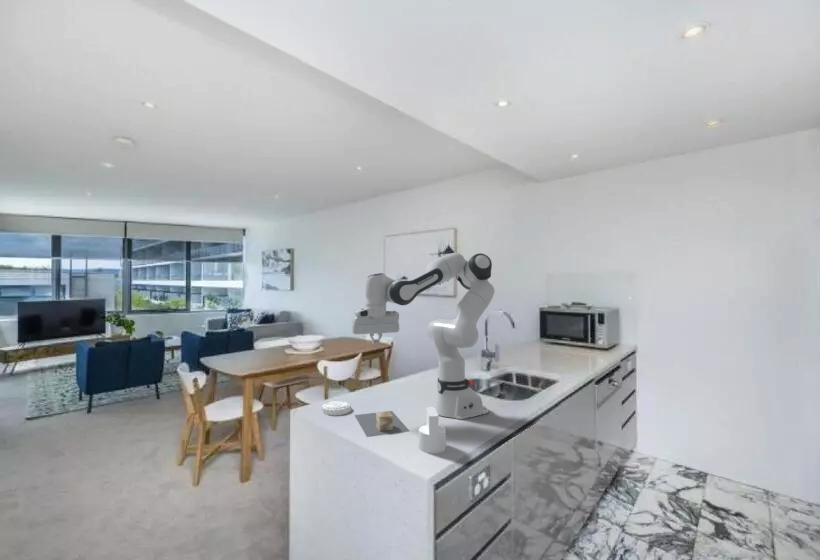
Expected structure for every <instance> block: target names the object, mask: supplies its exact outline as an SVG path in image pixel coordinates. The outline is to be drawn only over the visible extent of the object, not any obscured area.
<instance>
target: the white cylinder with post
mask: <svg viewBox="0 0 820 560" xmlns="http://www.w3.org/2000/svg"><path fill="white" fill-rule="evenodd" d="M425 408H426V410H425V413H426V414H425V415H426V416H425V420H426V421H425V424H424V425H421V426H420V427H419V428H418V449H419V450H420V451H421V452H422V453H427V454H433V455H435V454H440V453H442V452H444V451H446V448H447V447H446V446H447V445H446V444H447V443H446V440H447V439H446V436H447V435H446V433H447V431H446V428H445V426H442V425H440V424H439V418H440V417H439V416H440V415H438V413H437V411H436V409H435V408H436V406H435V407H434V406H427V407H425ZM434 453H435V454H434Z"/></svg>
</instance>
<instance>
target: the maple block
mask: <svg viewBox="0 0 820 560" xmlns="http://www.w3.org/2000/svg"><path fill="white" fill-rule="evenodd" d="M379 412H380V413H377V412H375V413H376V427H377V428H378V430H379V431H384V430H392V429H393V416H392V415H391V413H390V412H386V411H379Z"/></svg>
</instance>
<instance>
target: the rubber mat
mask: <svg viewBox="0 0 820 560" xmlns="http://www.w3.org/2000/svg"><path fill="white" fill-rule="evenodd" d="M380 412H381V411H379V412H370V413H362V414H354V417H355V419H356V420H357V422H358V424H359V426H360V427H361V429H362V430H363V433H364V435H365V437H367V438H368V437H369V438H370V437H377V436H383V435H391V434H399V433H406V432H410V429H408V427H407V426H406V425H405V424H404V423H403V422H402V421H401V419H400V418H399V417H398V416H397V414H395V412H393V410H387V411H385V412H390V413H391V415H392V416H393V429H392V430H384V431H379V430H378V428H377V427H376V413H380Z"/></svg>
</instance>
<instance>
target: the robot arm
mask: <svg viewBox="0 0 820 560" xmlns="http://www.w3.org/2000/svg"><path fill="white" fill-rule="evenodd" d="M492 265H493V264H492V259H491V258H490V257H489V256H488V255H487V254H484V253H476V254H474V255H472V256H471V257H469V260H467V259H465V257H464V255H462V254H461V253H459V252H452V253H449V254H448V253H447V254H445V255H443V256H440V257H437V258H436V259H434V260H432V261H431V262H429V263H427V265H426V267H425V273H423V274H421V275H419V276H417V277H415V278H414V279H411V280H400V281H399V280H395V279H392V278H390V277H389V276H387V275H386V274H385V273H383V272H380V273H379V272H378V273H374V274H370V275H368V276H367V277H366V281H365V298H366V300H365V307H363V308H360V309H357V310H355V311H354V317H353V318H352V323H351V332H352V333H353V335H369V337H370V339H371V343H372V345H380V343H381V342H380V341H381V339H382V337H383V334H389V333H390V334H391V333H398V332H399V331H400V322H399V321H400V320H399V319H400V314H399V312H398V311H396V310H387V303H393V304H396V305H399V306H407V305H409V304H411V303H412V302H413V301H414V300H415V298H416V297H418V295H420V294H421V293H422V292H424V291H427V290H429V289H430V288H432V287H433V286H435V285H440V284H443V283H445V282H447V281H449V280H451V279H452V278H455V277H456V278H455V279H456V280H457V281H458V282H459V283H460V286H462V287H463V288H464V289H466V290H467V292H466V293H465V295H463V297H462V298H461V299H460V301H459V302H458V303H457V304H456V307H455V308H456V312H457V313H456V314H457V316H456V317H455V318H454V319H446V318H440V319H434V320H431V322H429V324H428V326H427V330H426V333H427V337H428V338H429V339H430V341H431V342H432V344H433V346H434V348H435V349H434V350H435V352H436V356H437V362H438V378H437V398H436V399H437V400H436V404H435V405H436V406H435V409H436V411H437V413H438V416H441V417H445V418H450V419H451V418H452V419H456V420H466V419H469V417H470V418H473V417H478V415H479V416H482V414H483V415H487V414H488V413H489V410H488V407H486V406H484V404H483V401H482V397H481V395H480V394H478V393H477V392H476V391H475V390H473V389H472V388H471V387H469V386H473V385H474V381H473V380H472V379H468V378H466V361H465V359H464V357H463V356H462V355H461V353H460V352H459V348H460V349H468V348H472V347H474V346H475V345H476V344H477V342H478V340H479V331H478V330H479V329H478V328H477V323H478V321H479V320H480V318H481V316H482V315H483V314H484V312H485V311H486V310H487V308H488V306H489V305H490V304H491V302H492V299H493V297H494V295H495V288H494V286H493V284H492V283H490V281H489V279H490V278H491V277H492V267H493V266H492ZM375 334H377V335H378V337H377V338H376V339H375V338H374V336H375ZM486 413H487V414H486Z"/></svg>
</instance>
